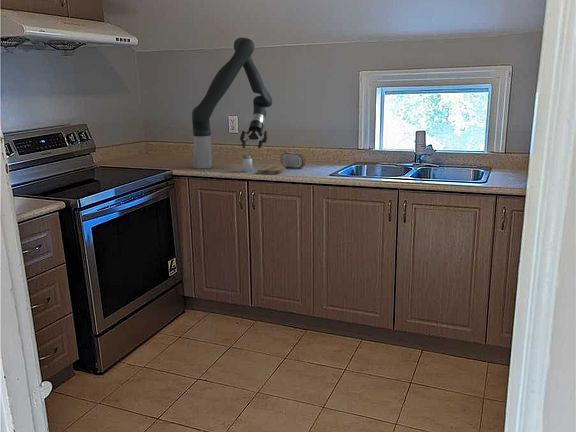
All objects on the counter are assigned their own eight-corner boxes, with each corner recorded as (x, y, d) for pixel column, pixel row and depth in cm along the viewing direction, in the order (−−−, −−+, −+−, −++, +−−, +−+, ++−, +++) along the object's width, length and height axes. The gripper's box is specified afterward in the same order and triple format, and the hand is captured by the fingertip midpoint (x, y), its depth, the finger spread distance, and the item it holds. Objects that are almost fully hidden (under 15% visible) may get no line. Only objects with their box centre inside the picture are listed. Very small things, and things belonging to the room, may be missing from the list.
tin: (305, 168, 289) (305, 152, 287) (302, 169, 286) (302, 153, 284) (282, 166, 297) (282, 151, 295) (279, 167, 294) (279, 151, 292)
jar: (241, 171, 279) (241, 156, 277) (244, 170, 283) (244, 155, 281) (250, 172, 277) (250, 156, 276) (253, 170, 282) (253, 155, 280)
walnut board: (257, 173, 272) (257, 169, 271) (265, 169, 285) (265, 165, 285) (278, 174, 269) (278, 170, 269) (285, 170, 282) (285, 166, 282)
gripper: (242, 119, 291) (236, 142, 283) (268, 119, 287) (262, 143, 279) (246, 128, 297) (240, 151, 289) (271, 128, 294) (265, 152, 286)
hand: (251, 147), depth 284 cm, fingers open, 8 cm apart
